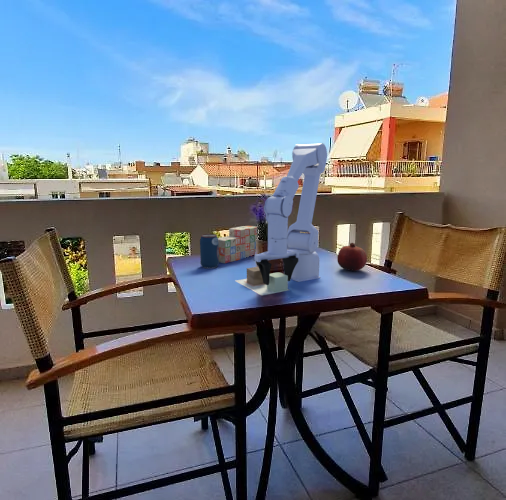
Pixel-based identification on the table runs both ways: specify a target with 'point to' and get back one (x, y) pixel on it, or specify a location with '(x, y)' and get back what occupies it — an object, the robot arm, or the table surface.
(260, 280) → the walnut block
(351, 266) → the fruit
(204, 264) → the soda can
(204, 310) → the table surface
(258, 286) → the build mat
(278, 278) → the sage block
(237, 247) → the stack of blocks
